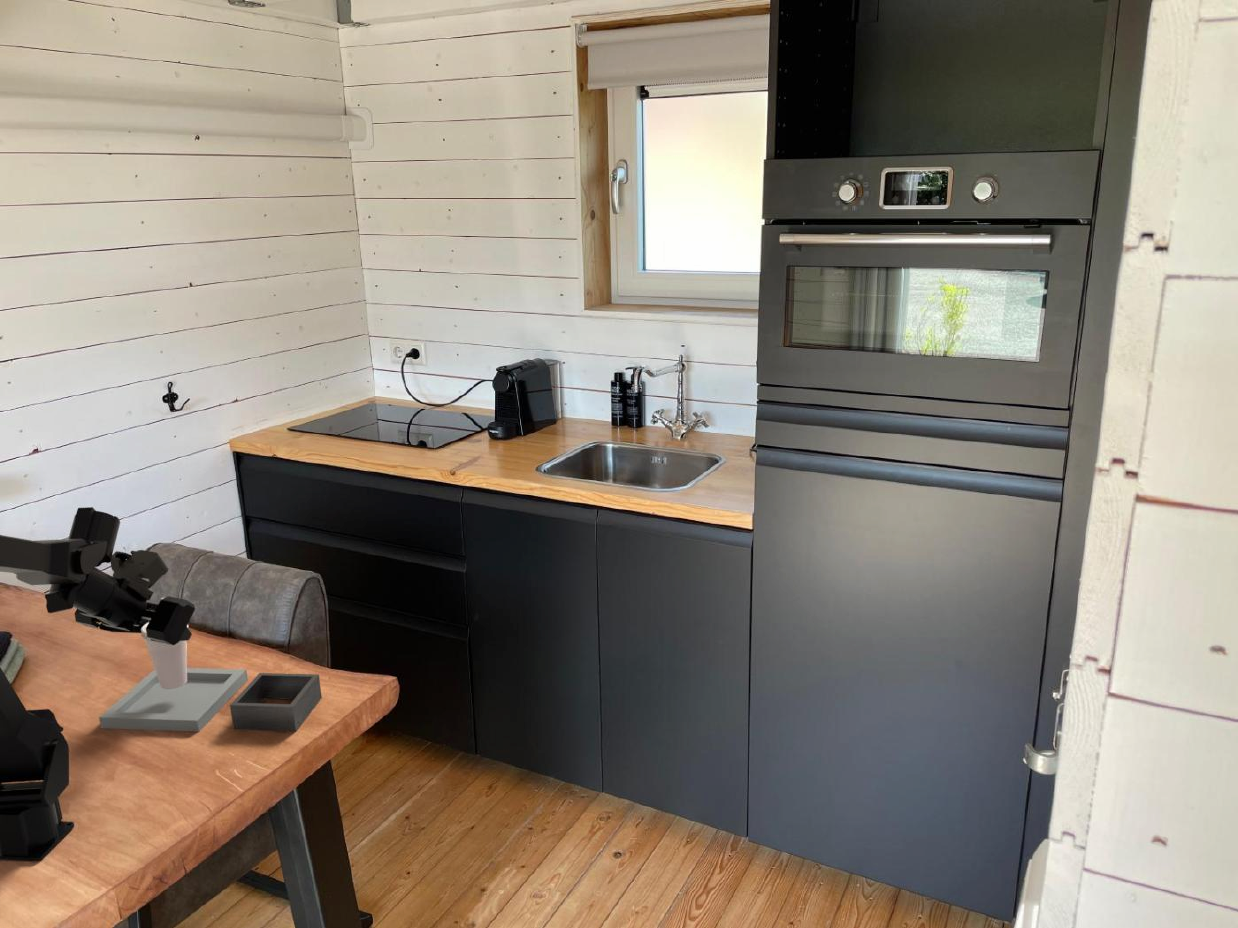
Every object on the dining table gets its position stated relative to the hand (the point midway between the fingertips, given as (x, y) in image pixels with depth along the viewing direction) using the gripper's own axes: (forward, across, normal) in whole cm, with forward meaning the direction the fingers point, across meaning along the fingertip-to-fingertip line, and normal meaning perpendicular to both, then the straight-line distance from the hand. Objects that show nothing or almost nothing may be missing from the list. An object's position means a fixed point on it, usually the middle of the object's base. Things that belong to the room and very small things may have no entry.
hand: (173, 633), depth 140 cm
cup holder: (+10, -17, +6) cm, 20 cm away
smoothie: (+5, 0, +6) cm, 8 cm away
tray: (+7, 0, +9) cm, 11 cm away
